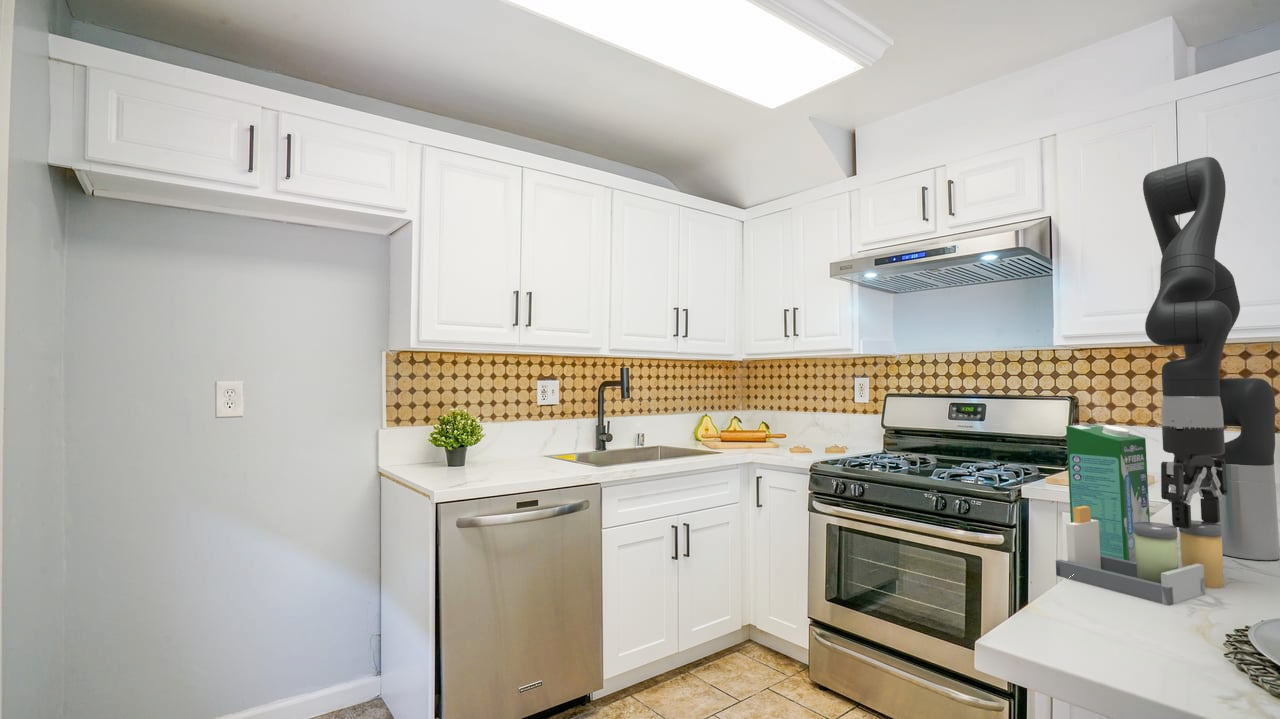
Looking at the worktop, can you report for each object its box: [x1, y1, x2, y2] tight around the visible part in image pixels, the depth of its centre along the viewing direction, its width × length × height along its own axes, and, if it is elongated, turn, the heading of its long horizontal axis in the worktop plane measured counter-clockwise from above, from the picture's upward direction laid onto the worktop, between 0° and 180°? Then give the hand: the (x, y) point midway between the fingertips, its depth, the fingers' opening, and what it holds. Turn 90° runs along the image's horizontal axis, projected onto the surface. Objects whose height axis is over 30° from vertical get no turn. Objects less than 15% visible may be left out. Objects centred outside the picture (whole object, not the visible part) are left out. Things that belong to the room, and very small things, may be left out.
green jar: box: [1133, 521, 1179, 584], centre depth 96 cm, size 5×5×10 cm
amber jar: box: [1178, 519, 1225, 589], centre depth 100 cm, size 5×5×10 cm
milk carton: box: [1065, 423, 1151, 562], centre depth 117 cm, size 9×9×25 cm
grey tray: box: [1055, 554, 1206, 606], centre depth 100 cm, size 10×16×5 cm, turn 25°
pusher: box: [1065, 506, 1101, 569], centre depth 106 cm, size 7×1×11 cm, turn 115°
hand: (1196, 524), depth 100 cm, fingers open, 8 cm apart
